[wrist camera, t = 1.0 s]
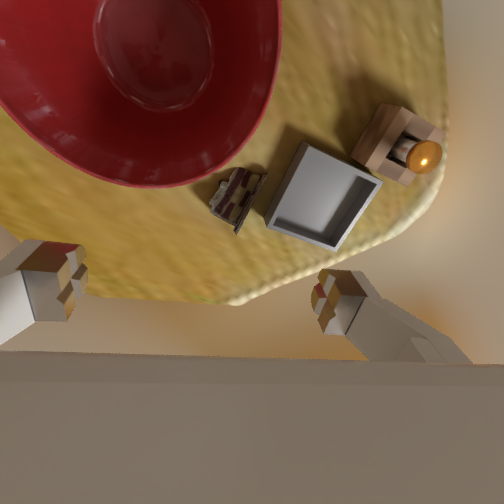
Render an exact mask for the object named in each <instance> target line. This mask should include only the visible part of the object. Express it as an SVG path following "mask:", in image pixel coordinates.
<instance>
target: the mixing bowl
mask: <svg viewBox="0 0 504 504" xmlns="http://www.w3.org/2000/svg"><path fill="white" fill-rule="evenodd" d="M281 47H282V4H281V0H0V105H1V106H2V108H3V109H4V110H5V111H6V112H7V114H8V115H9V116H10V117H11V118H12V119H13V120H14V121H15V122H16V123H17V124H18V125H19V126H20V127H21V128H22V129H23V130H24V131H25V132H26V133H27V134H28V135H29V136H30V137H32V138H33V139H34V140H35V141H36V142H38V143H39V144H40V145H41V146H43V147H44V148H45V149H47V150H48V151H49V152H51V153H52V154H53V155H55V156H56V157H58V158H59V159H61V160H63V161H64V162H66V163H68V164H69V165H71V166H73V167H74V168H76V169H78V170H80V171H83V172H85V173H87V174H89V175H91V176H93V177H96V178H99V179H101V180H104V181H107V182H111V183H114V184H118V185H122V186H127V187H134V188H145V189H161V188H171V187H176V186H182V185H186V184H189V183H192V182H195V181H198V180H200V179H202V178H205V177H207V176H209V175H210V174H212V173H214V172H215V171H217V170H219V169H220V168H221V167H223V166H224V165H226V164H227V163H228V162H229V161H230V160H232V159H233V158H234V157H235V156H236V155H237V154H238V153H239V152H240V151H241V149H242V148H243V147H244V146H245V145H246V144H247V142H248V141H249V140H250V138H251V137H252V135H253V134H254V133H255V131H256V129H257V127H258V126H259V124H260V122H261V120H262V118H263V116H264V114H265V112H266V109H267V107H268V105H269V102H270V99H271V97H272V93H273V90H274V86H275V83H276V79H277V74H278V69H279V63H280V56H281Z"/></svg>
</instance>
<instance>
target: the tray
mask: <svg viewBox="0 0 504 504" xmlns="http://www.w3.org/2000/svg"><path fill="white" fill-rule="evenodd" d="M382 184H383V181H382V180H380V179H379V178H377V177H376V176H374V175H372V174H370V173H368V172H366V171H364V170H362V169H360V168H358V167H356V166H354V165H352V164H350V163H347V162H345V161H343V160H341V159H339V158H337V157H335V156H333V155H331V154H329V153H327V152H325V151H323V150H320V149H318V148H316V147H314V146H312V145H310V144H308V143H306V142H304V141H302V142H301V144H300V146H299V148H298V150H297V152H296V154H295V156H294V158H293V160H292V162H291V164H290V166H289V168H288V170H287V172H286V174H285V176H284V178H283V180H282V182H281V184H280V186H279V188H278V190H277V192H276V194H275V196H274V198H273V200H272V202H271V204H270V206H269V208H268V210H267V212H266V214H265V216H264V221H265V224H266V227H267V228H269V229H272V230H275V231H278V232H281V233H283V234H286V235H289V236H292V237H295V238H297V239H300V240H303V241H306V242H309V243H312V244H314V245H317V246H320V247H323V248H326V249H328V250H331V251H334V252H336V251H337V250H338V248H339V247H340V245H341V244H342V242H343V241H344V239H345V238H346V237H347V235H348V234H349V232H350V231H351V229H352V228H353V226H354V225H355V223H356V222H357V220H358V219H359V217H360V216H361V214H362V213H363V212H364V210H365V209H366V207H367V206H368V204H369V203H370V201H371V200H372V198H373V197H374V195H375V194H376V192H377V191H378V189H379V188H380V187H381V185H382Z"/></svg>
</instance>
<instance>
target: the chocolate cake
mask: <svg viewBox="0 0 504 504" xmlns="http://www.w3.org/2000/svg"><path fill="white" fill-rule="evenodd" d="M268 175H269V174H263V176H262V178H261V177H259V176H258V175H256V174H255V175H254V174H253V173H252V172H250V171H248V170H245V169H243V168H241V167H239V168H236V169H235V170H234V172H233V173H232V175H231V176H230V180H229V182H226V181H222V180H221V181H219V185H220V188H219V189H218V191H217V192H216V194H215V195H214V196H213V198H212V199H210V202H209V204H210V205H212V207H211V208H210V212H211V213H212V214H214V215H215V216H217V217H218V218H220V219H222V220H224V221H226V222H228V223H230V224H232V225H233V226H235V228H234V232H235V234H236V235H237V233H238V232H239V230H240V228H241V226H242V224H243V221H244V220H245V218H246V216H247V214H248V212H249V211H250V208H251V206H252V205H253V202H254V200H255V199H256V197H257V195H258V193H259V191H260V189H261V188H262V186H263V184H264V182H265V180H266V179H267V177H268Z"/></svg>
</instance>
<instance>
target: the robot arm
mask: <svg viewBox="0 0 504 504" xmlns="http://www.w3.org/2000/svg"><path fill="white" fill-rule="evenodd" d="M85 258H86V254H85V248H84V247H83V246H82V245H78V244H69V243H61V242H52V241H44V240H33V239H28V240H24V241H23V242H22V243H21V244H20V245H18V246H17V247H16V248H15V249H14V250H13V251H11V252H10V253H9V254H8V255H7V256H6V257H5V258H3V259H2V260H1V261H0V345H1V344H3V343H4V342H6V341H7V340H9V339H10V338H12V337H13V336H15V335H16V334H18V333H19V332H21V331H22V330H24V329H25V328H27V327H28V326H30V325H31V324H33V323H34V322H35V321H66V322H67V321H68V319H69V317H70V316H71V314H72V312H73V311H74V309H75V307H76V301H75V300H76V299H78V298H80V297H82V295H83V294H84V292H85V290H86V287H87V283H88V268H87V267H86V266H85V265H84V264H83V263H82V262H83V260H84V259H85ZM318 280H319V282H320V283H318V284H317V285H316V286H314V288H313V291H312V295H311V303H312V308H313V310H314V312H316V313H317V314H318V315H319V318H318V322H319V324H320V327H321V329H322V331H323V334H332V335H345V337H346V338H347V339H348V340H349V341H350V342H351V343H352V344H353V345H354V346H355V347H356V348H357V349H359V351H361V352H362V353H363V354H364V355H365V356H366V357H367V358H368V359H369V360H370V361H356V360H355V361H354V360H322V359H321V360H320V359H289V358H255V357H219V356H217V357H215V356H183V355H146V354H111V353H77V352H44V351H43V352H42V351H41V352H40V351H9V350H0V504H504V365H498V364H473V363H472V362H471V361H470V360H469V358H468V357H467V356H466V355H465V354H464V353H463V352H462V351H461V349H460V348H459V347H458V346H457V345H456V344H455V343H454V342H453V341H452V339H450V338H449V337H448V336H446V335H445V334H443V333H441V332H440V331H438V330H436V329H435V328H433V327H431V326H430V325H428V324H427V323H425V322H423V321H422V320H420V319H418V318H416V317H415V316H413V315H412V314H410V313H409V312H407V311H405V310H404V309H402V308H400V307H399V306H397V305H395V304H394V303H392V302H390V301H389V300H387V299H382V297H381V296H380V295H379V294H378V292H377V291H376V289H375V288H374V287H373V285H372V284H371V283H370V281H369V280H368V279H367V278H366V276H365V275H364V273H362V272H360V271H351V270H333V269H322V270H321V271H320V273H319V275H318Z"/></svg>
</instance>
